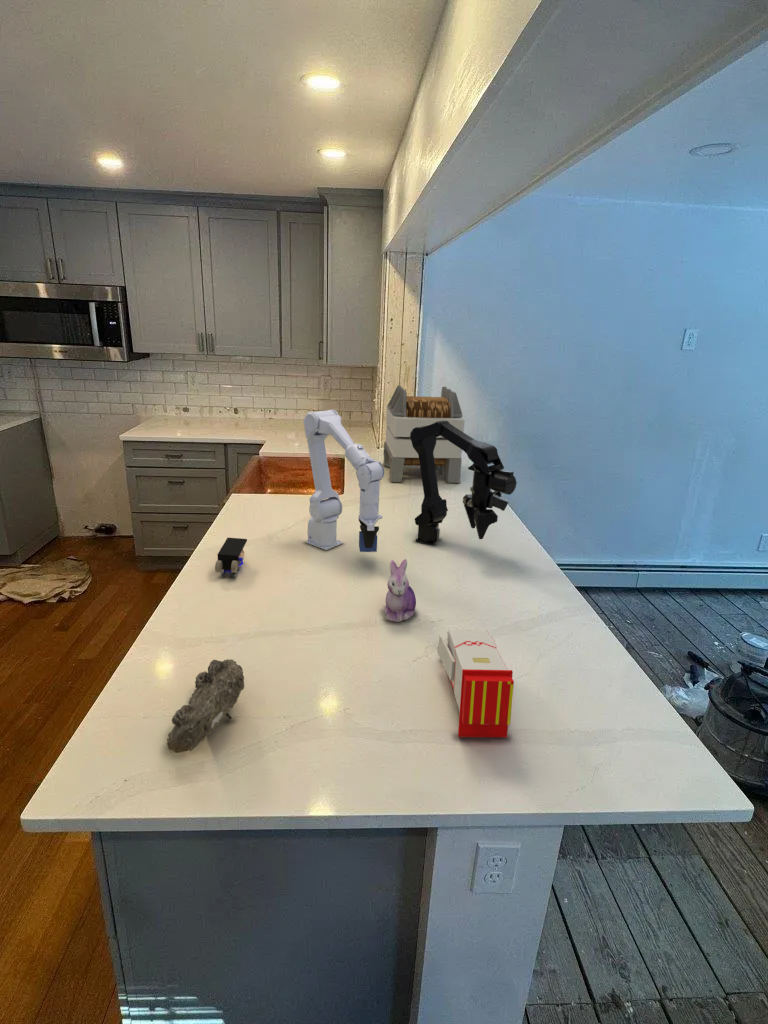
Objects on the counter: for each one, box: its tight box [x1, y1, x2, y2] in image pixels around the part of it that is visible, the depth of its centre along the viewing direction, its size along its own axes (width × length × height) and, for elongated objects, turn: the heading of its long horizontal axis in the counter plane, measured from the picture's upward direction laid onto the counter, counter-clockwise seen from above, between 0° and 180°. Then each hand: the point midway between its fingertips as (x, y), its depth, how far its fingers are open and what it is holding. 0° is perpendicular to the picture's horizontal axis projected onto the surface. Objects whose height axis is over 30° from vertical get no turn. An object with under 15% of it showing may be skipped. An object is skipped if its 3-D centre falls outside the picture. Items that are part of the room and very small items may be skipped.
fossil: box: [166, 658, 245, 754], centre depth 106 cm, size 22×10×15 cm
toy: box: [437, 628, 515, 738], centre depth 117 cm, size 12×13×30 cm
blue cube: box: [358, 530, 378, 553], centre depth 173 cm, size 5×5×5 cm
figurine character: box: [214, 537, 248, 578], centre depth 166 cm, size 7×8×15 cm
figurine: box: [384, 558, 417, 623], centre depth 145 cm, size 9×10×15 cm
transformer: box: [382, 384, 465, 484], centre depth 268 cm, size 34×33×41 cm
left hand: (367, 544), depth 173 cm, fingers closed on blue cube, 4 cm apart
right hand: (476, 533), depth 179 cm, fingers open, 9 cm apart
